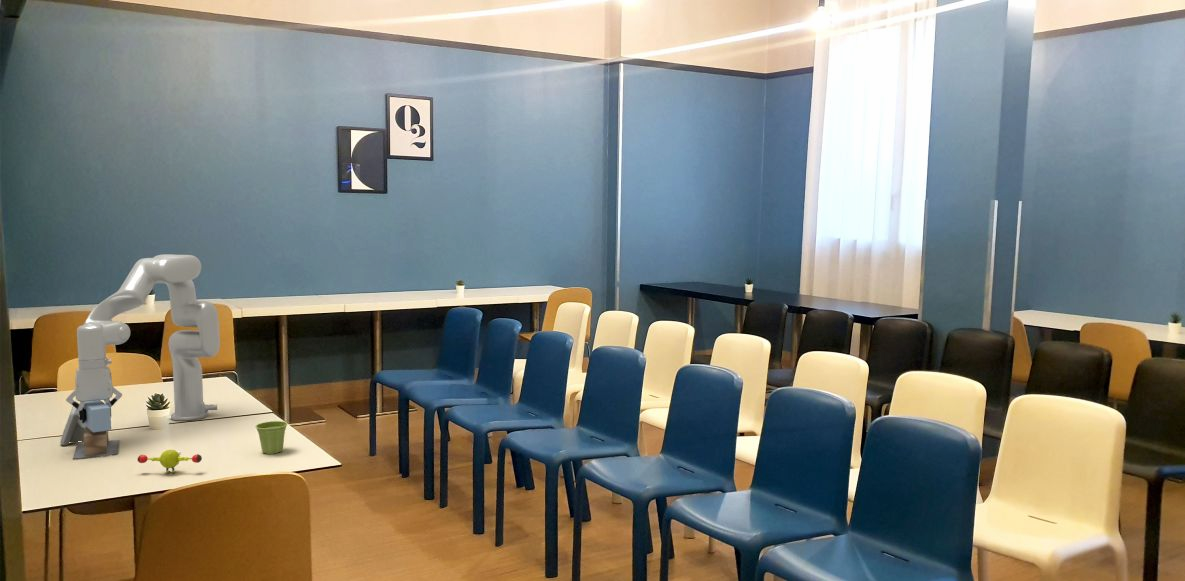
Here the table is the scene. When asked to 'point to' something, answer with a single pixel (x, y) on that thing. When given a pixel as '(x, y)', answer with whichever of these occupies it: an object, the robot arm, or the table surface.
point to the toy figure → (169, 459)
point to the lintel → (97, 416)
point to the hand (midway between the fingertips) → (95, 420)
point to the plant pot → (271, 436)
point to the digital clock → (73, 428)
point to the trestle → (96, 445)
